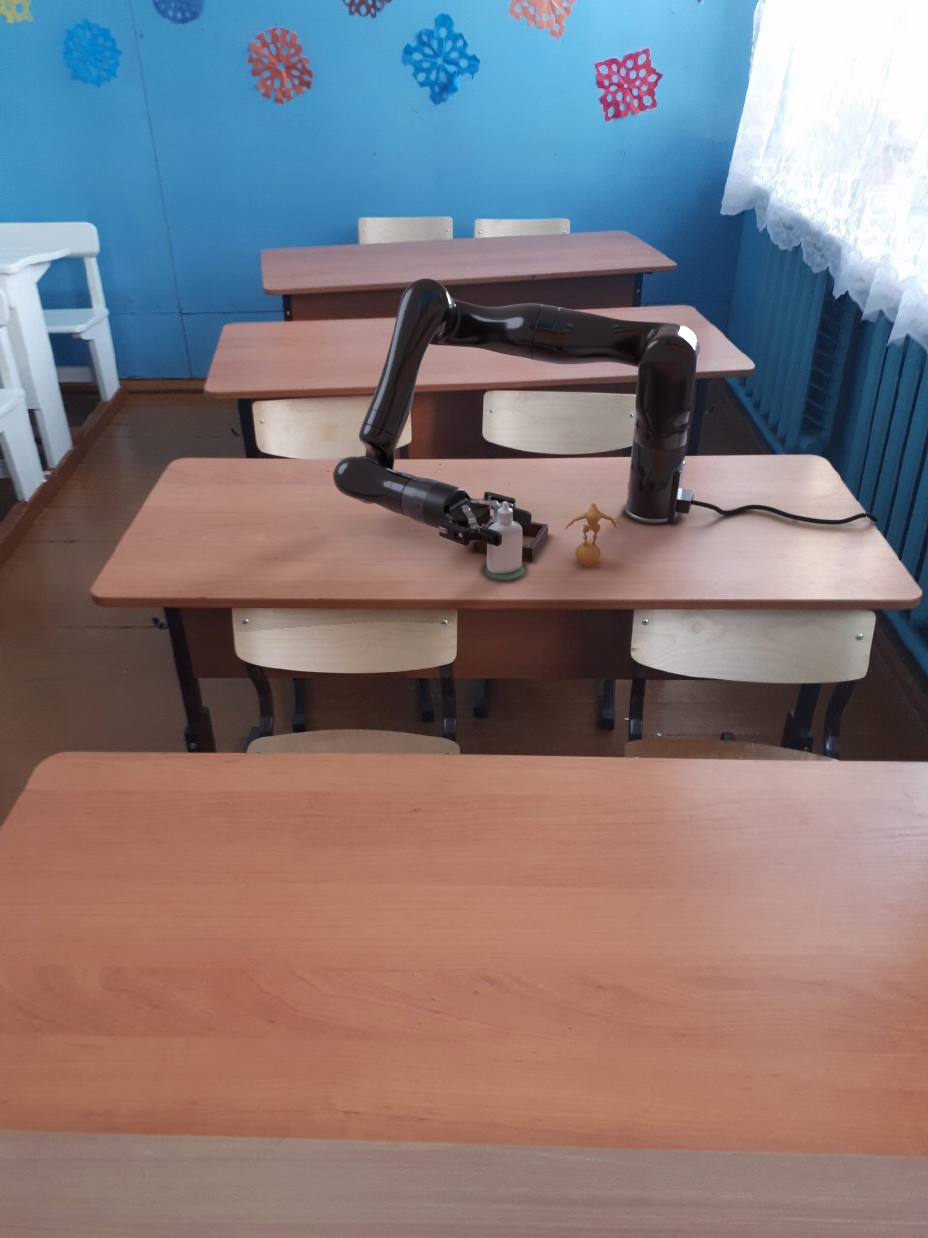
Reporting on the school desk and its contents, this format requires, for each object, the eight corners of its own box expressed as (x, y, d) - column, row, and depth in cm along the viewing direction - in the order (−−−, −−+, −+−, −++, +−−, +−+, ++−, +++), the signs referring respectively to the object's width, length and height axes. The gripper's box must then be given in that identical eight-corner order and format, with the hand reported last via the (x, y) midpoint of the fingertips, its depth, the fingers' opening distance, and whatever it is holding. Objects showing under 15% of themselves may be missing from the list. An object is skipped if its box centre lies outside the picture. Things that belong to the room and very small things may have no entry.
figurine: (610, 557, 147) (616, 492, 140) (615, 575, 142) (622, 509, 135) (560, 558, 147) (564, 493, 140) (564, 576, 142) (568, 510, 135)
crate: (547, 537, 153) (548, 524, 152) (532, 561, 146) (532, 548, 145) (490, 527, 156) (491, 515, 155) (473, 551, 149) (472, 538, 148)
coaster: (529, 564, 145) (529, 562, 145) (517, 583, 140) (517, 581, 140) (493, 558, 147) (493, 556, 147) (480, 576, 142) (480, 574, 142)
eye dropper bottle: (519, 576, 141) (521, 509, 135) (485, 573, 142) (485, 507, 135) (522, 563, 145) (524, 497, 138) (489, 560, 146) (489, 495, 139)
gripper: (406, 498, 139) (490, 525, 131) (459, 468, 149) (540, 491, 141) (409, 540, 143) (490, 568, 135) (460, 508, 153) (539, 532, 145)
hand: (515, 529), depth 138 cm, fingers open, 8 cm apart
